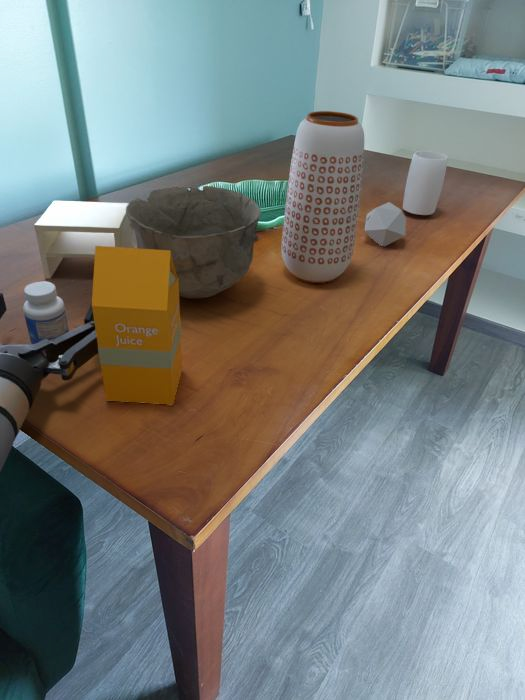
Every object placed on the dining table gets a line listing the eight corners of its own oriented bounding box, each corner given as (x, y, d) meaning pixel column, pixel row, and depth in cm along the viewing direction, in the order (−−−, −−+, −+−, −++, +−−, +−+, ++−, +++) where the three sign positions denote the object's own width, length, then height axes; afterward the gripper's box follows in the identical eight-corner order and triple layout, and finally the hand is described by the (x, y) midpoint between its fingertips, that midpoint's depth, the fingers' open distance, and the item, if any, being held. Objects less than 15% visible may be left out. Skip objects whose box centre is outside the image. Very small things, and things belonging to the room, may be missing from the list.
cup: (393, 210, 133) (404, 151, 125) (419, 206, 137) (432, 149, 129) (415, 222, 127) (429, 161, 119) (442, 217, 131) (457, 158, 123)
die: (376, 233, 122) (358, 201, 116) (415, 221, 117) (398, 187, 111) (373, 260, 117) (354, 227, 111) (413, 249, 113) (395, 214, 106)
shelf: (44, 278, 95) (34, 225, 89) (62, 250, 105) (53, 200, 99) (124, 280, 96) (118, 227, 90) (134, 252, 106) (130, 203, 100)
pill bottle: (31, 339, 80) (18, 280, 74) (69, 333, 81) (59, 276, 76) (33, 360, 75) (18, 299, 70) (73, 353, 77) (62, 294, 72)
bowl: (237, 256, 107) (240, 181, 98) (275, 310, 90) (281, 226, 81) (125, 267, 100) (117, 188, 92) (143, 328, 84) (135, 238, 75)
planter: (297, 294, 95) (313, 127, 79) (268, 262, 105) (278, 108, 89) (361, 284, 100) (390, 124, 83) (328, 254, 110) (348, 106, 93)
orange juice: (120, 366, 75) (103, 232, 64) (183, 370, 75) (177, 237, 64) (105, 402, 69) (83, 260, 57) (173, 406, 69) (165, 265, 57)
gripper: (-109, 421, 61) (-32, 322, 78) (112, 424, 63) (139, 326, 80) (-133, 369, 57) (-47, 276, 74) (105, 373, 58) (135, 282, 76)
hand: (50, 302), depth 77 cm, fingers open, 13 cm apart
